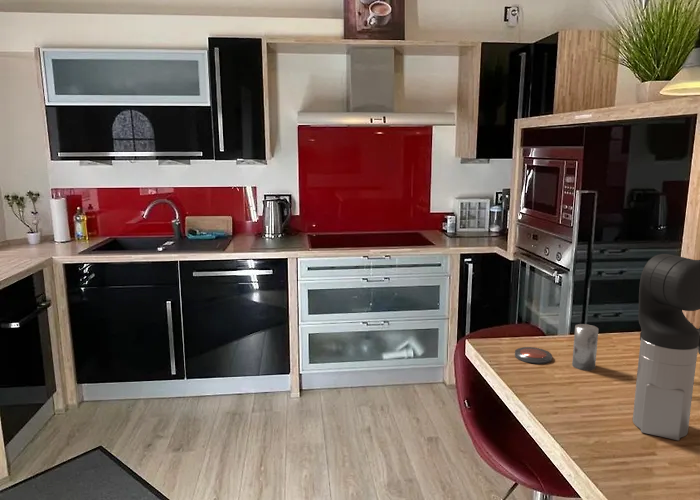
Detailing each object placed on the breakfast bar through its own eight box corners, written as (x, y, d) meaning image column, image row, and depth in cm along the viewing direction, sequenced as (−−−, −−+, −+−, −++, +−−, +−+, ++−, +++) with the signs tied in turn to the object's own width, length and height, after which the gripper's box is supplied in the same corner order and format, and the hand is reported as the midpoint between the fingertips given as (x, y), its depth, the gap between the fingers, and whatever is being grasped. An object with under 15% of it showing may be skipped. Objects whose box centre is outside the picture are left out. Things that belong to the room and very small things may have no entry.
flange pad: (548, 366, 129) (548, 362, 129) (511, 359, 134) (511, 355, 134) (554, 354, 137) (554, 350, 137) (518, 348, 141) (519, 344, 141)
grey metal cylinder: (594, 372, 126) (597, 332, 124) (570, 367, 129) (573, 328, 127) (596, 364, 131) (599, 326, 129) (573, 360, 133) (576, 322, 131)
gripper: (723, 315, 120) (642, 306, 128) (731, 334, 108) (641, 323, 116) (720, 346, 121) (640, 336, 129) (727, 369, 109) (638, 356, 117)
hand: (640, 330), depth 122 cm, fingers open, 8 cm apart
